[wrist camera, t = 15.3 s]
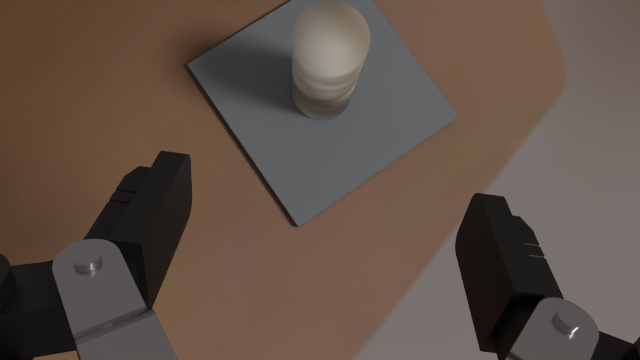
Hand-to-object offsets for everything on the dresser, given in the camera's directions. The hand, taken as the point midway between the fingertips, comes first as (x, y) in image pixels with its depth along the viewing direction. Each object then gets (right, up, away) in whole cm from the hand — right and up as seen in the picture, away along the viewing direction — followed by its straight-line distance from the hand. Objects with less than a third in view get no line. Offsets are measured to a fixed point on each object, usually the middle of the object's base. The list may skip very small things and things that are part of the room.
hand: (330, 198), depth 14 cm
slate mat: (0, +8, +26) cm, 27 cm away
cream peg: (0, +8, +25) cm, 27 cm away
